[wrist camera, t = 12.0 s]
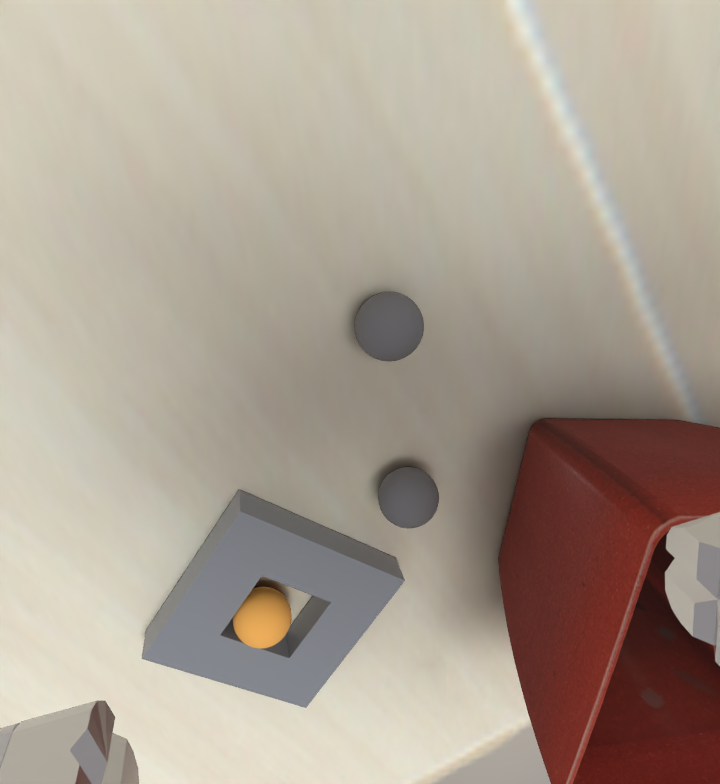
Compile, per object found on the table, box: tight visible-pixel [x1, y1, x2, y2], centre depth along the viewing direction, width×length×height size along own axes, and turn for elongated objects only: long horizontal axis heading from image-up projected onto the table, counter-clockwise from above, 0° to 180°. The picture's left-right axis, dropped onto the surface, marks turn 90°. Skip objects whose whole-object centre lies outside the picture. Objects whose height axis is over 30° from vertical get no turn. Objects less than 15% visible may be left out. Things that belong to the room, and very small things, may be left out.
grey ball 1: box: [355, 292, 424, 361], centre depth 36 cm, size 4×4×4 cm
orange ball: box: [233, 587, 291, 649], centre depth 43 cm, size 4×4×4 cm
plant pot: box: [499, 419, 720, 784], centre depth 39 cm, size 19×19×17 cm
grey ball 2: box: [378, 467, 439, 528], centre depth 41 cm, size 4×4×4 cm
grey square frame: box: [142, 490, 405, 708], centre depth 44 cm, size 13×13×2 cm
